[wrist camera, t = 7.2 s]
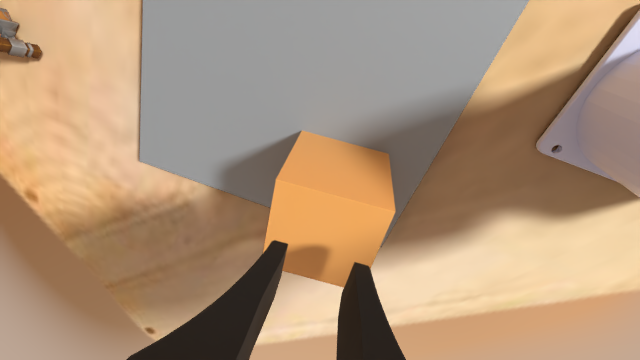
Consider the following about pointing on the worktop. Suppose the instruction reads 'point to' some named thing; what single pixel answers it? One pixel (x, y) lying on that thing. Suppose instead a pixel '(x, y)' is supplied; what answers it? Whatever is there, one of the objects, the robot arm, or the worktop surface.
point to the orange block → (330, 207)
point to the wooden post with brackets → (12, 46)
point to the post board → (309, 82)
